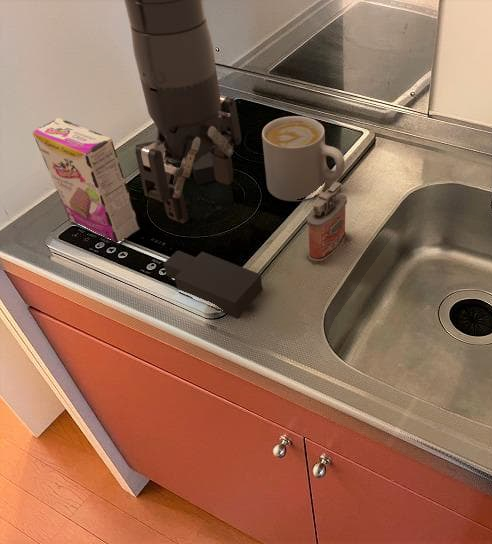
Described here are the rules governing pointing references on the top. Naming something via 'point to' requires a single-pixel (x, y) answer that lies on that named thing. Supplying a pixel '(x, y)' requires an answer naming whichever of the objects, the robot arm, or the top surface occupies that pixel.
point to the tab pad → (214, 281)
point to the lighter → (327, 225)
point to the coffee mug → (297, 157)
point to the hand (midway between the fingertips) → (202, 200)
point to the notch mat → (196, 167)
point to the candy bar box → (88, 178)
